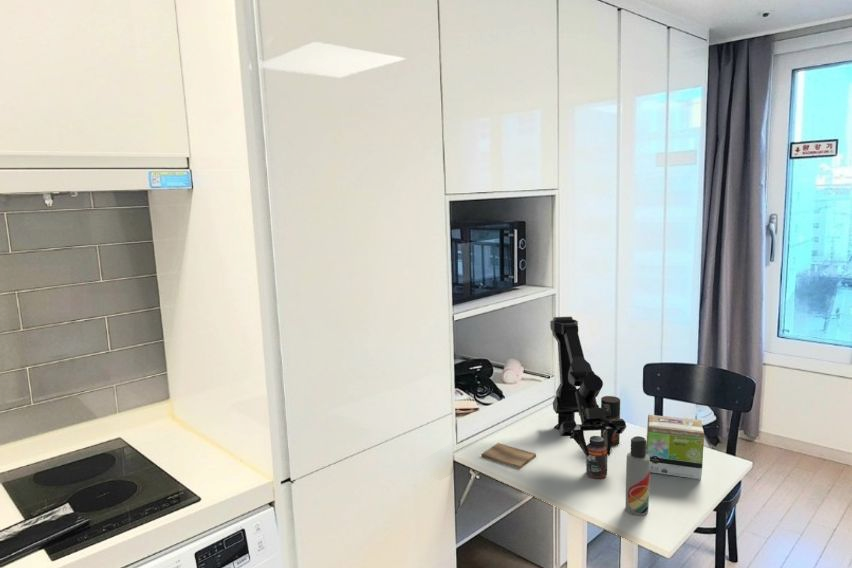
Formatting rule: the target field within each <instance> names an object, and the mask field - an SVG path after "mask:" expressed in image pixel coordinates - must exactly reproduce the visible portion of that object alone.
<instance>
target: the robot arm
mask: <svg viewBox="0 0 852 568" xmlns="http://www.w3.org/2000/svg"><path fill="white" fill-rule="evenodd" d="M549 325H550V326H549V327H550V330H551V332H552V336H553V338H554V339H555V340H556V341H557V351H558V352H557V353H558V367H559V385H558V387H557V389H556V391H555V395H556V396H555V397H554V398H553V402H552V410H553V412H555V414H557V424H555V426H553V428H554V429H557V430H559V435H560V437H569V439H571V440H572V439H573V440H574V441H575V443H577V444H578V446H579V448H580V449H581V450H582V452H583V453H584V455H585V457H586V456H587V457H588V456H589V454H588V449H587V445H588V444H587V443H586V439H585V435H584V434H585V433H584V432H590V431H601V430H604V431H605V434H604V436H603V437H604V442H605V445H606V447H607V457H609V456H610V455H611V448H612V446H611V441H612V437H613V436H614V435H615V434H620V435H622V434H623V433H624V431H625V430H626V428H627V425H626V421H625V420H624V419H623V418H620V419H611V420H610V422H609V423H603V424H601V422H603V420H604V419H605V416H607V415H611V409H610V405H609V404H605V405H602V408H601V407H600V405H599V404H598V402H597V399H596V398H597V397H598V396H599V394H600V392H601V390H602V388H603V386H604V382H603V379H602V378H601V377H600V376H599V375H597V374H596V373H595V372H594V371H593V368H592V366H591V363H589V361H587V360H586V358H585V356H584V351H583V348H582V344H581V340H580V336H579V335H580V334H579V321H578V320H577V319H573V316H554V317H553V318H552V320H550V322H549ZM577 387H578V388H577ZM575 413H578V416H579V417H580V422H581V424H579V423H578V424H577V422H576V421H575V420H576V419H575V418H576V414H575Z"/></svg>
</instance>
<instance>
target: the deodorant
mask: <svg viewBox="0 0 852 568" xmlns="http://www.w3.org/2000/svg"><path fill="white" fill-rule="evenodd" d="M605 404H609V405H610V409H611V415H607V416H605V419H604V420H603V422H601V424H603V423H609V422H610V420H611V419H621V398H619V397H617V396H612V395H605V396H602V397H601V398H600V408H602V405H605ZM604 434H605V431H604V430H600V437H602V438H603V439H604V437H603V436H604ZM620 435H621V434H615V435H614V436H613V437H612V441H611V447H617V446H619V445H620V438H621V437H620ZM604 444H605V442H604ZM618 444H619V445H618ZM616 445H617V446H616Z"/></svg>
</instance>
